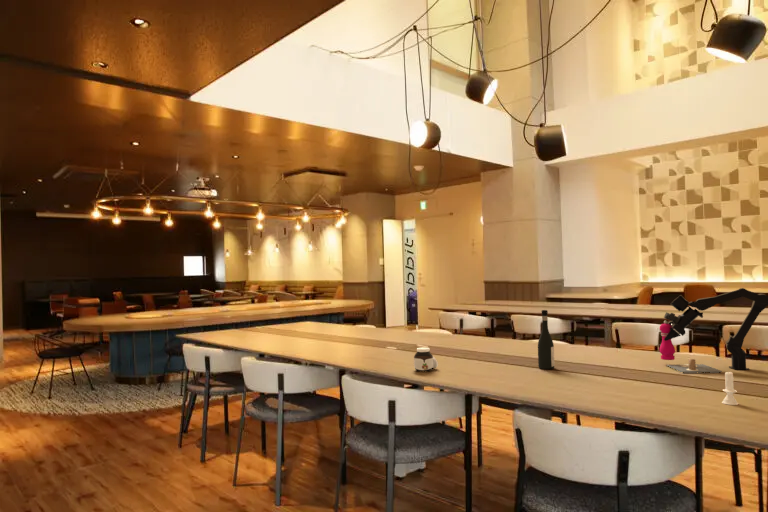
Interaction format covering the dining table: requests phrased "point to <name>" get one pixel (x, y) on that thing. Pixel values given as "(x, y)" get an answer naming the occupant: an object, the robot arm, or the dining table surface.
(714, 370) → the board
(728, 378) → the candle
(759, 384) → the dining table surface
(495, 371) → the dining table surface
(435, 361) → the spread jar
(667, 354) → the pepper mill
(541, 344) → the wine bottle
